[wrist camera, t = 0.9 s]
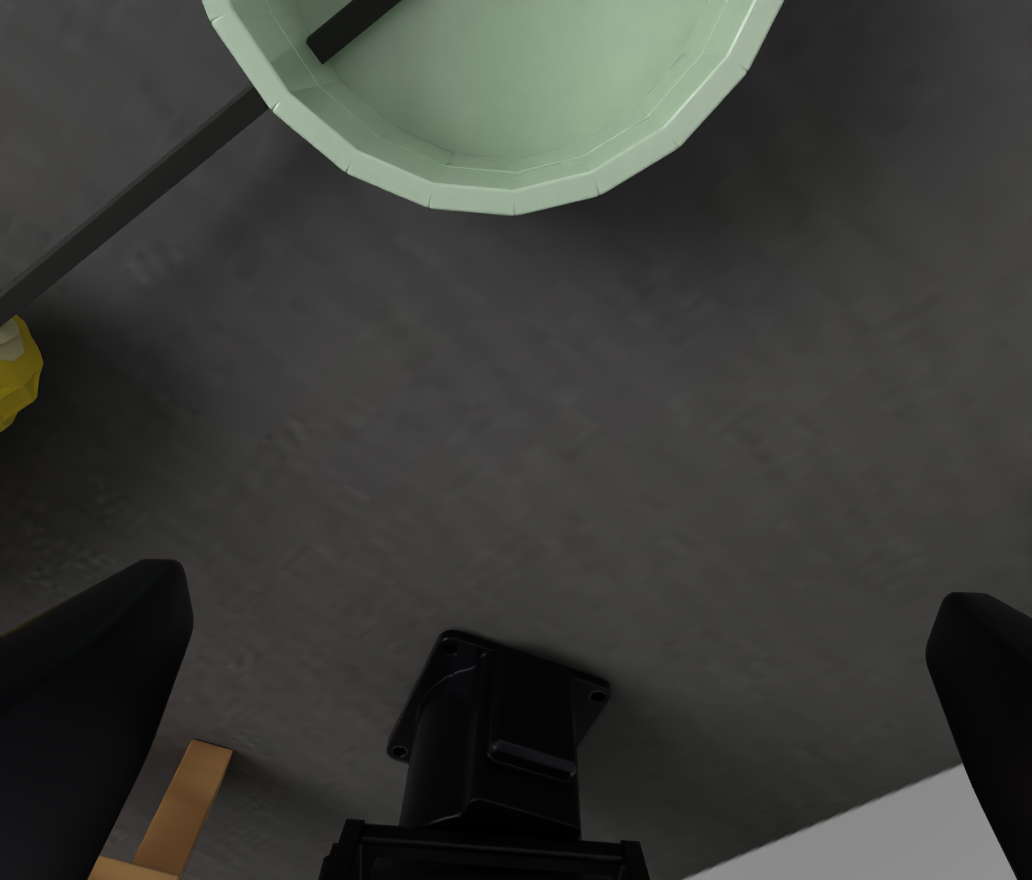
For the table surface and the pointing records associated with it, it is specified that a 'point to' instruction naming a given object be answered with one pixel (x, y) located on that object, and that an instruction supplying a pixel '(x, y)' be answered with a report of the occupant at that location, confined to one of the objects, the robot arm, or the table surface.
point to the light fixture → (141, 209)
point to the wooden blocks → (174, 819)
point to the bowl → (498, 89)
